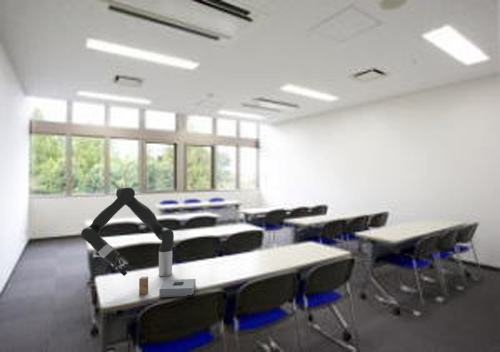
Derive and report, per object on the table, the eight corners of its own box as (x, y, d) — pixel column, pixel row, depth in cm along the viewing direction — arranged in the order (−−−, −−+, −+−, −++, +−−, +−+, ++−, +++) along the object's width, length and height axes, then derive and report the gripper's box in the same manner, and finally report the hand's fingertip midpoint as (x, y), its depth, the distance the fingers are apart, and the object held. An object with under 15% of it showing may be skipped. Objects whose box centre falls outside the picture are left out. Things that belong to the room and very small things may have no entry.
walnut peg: (141, 292, 162) (141, 276, 162) (148, 292, 162) (148, 276, 162) (139, 295, 158) (139, 279, 158) (146, 295, 158) (146, 278, 158)
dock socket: (165, 286, 170) (165, 279, 170) (195, 285, 172) (195, 278, 172) (159, 296, 155) (159, 289, 155) (192, 295, 157) (192, 287, 157)
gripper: (108, 251, 152) (128, 271, 153) (118, 246, 166) (137, 264, 167) (98, 261, 152) (119, 281, 152) (109, 254, 166) (128, 272, 166)
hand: (128, 272), depth 160 cm, fingers open, 8 cm apart
